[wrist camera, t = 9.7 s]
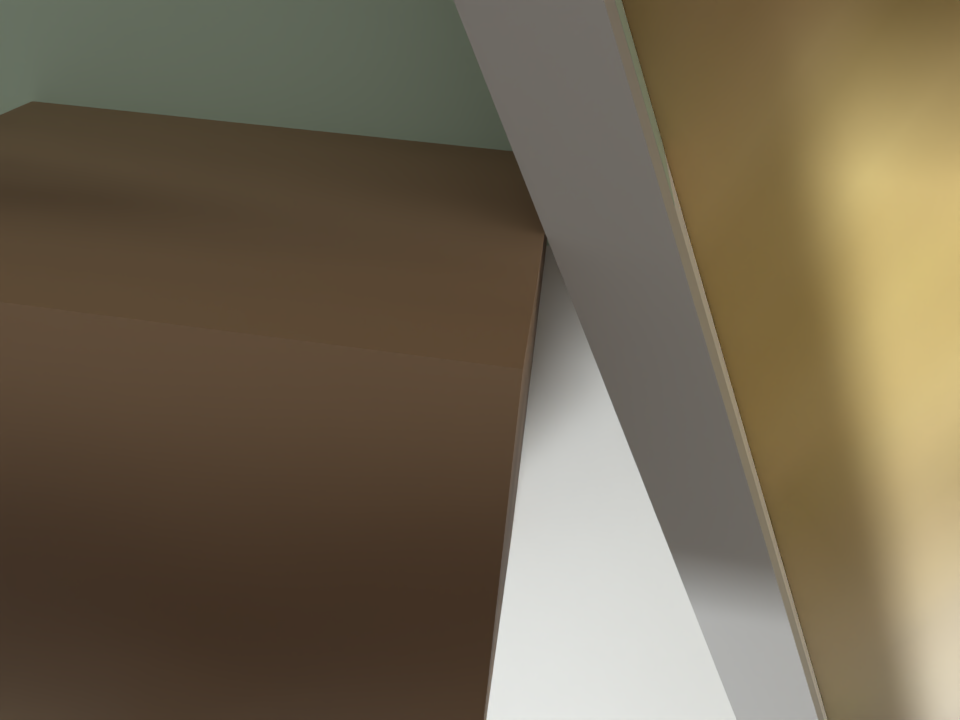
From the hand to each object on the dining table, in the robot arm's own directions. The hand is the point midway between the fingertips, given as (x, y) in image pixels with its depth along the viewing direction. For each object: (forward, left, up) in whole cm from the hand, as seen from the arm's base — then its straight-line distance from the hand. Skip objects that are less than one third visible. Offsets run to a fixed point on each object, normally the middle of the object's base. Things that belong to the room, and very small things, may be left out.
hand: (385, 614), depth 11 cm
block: (-3, +3, -1) cm, 4 cm away
